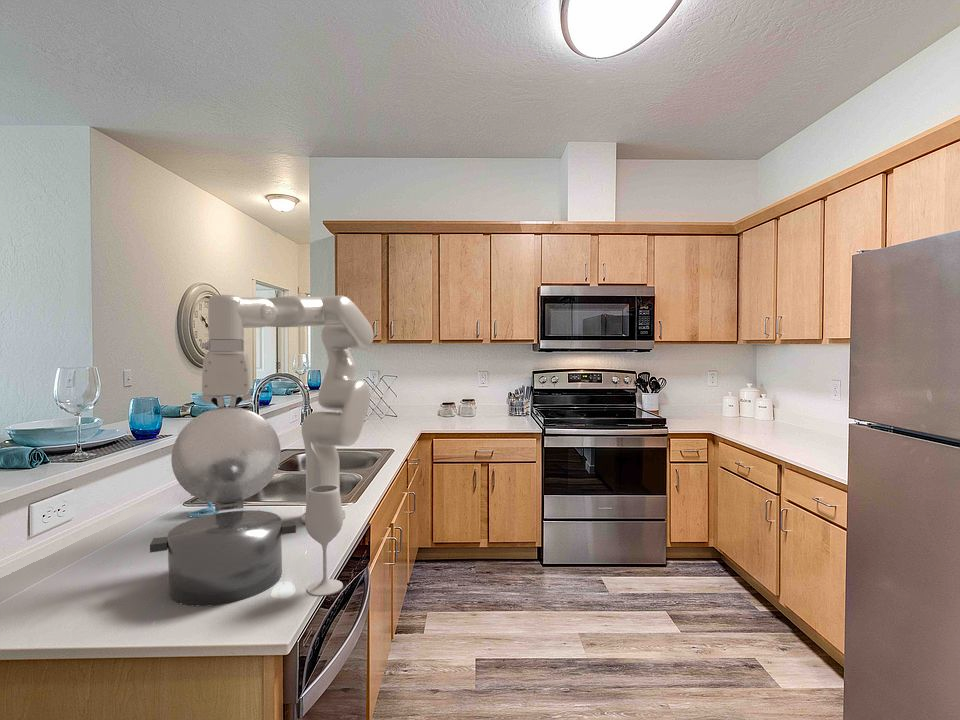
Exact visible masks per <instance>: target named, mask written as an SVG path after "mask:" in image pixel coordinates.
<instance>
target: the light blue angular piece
mask: <svg viewBox="0 0 960 720" xmlns="http://www.w3.org/2000/svg"><path fill="white" fill-rule="evenodd" d="M190 496H192V497H194V496H193V495H191V494H190ZM205 503H206V505H207V506H208V507H206V508H205V507H204V508H202V509H198V510H195V511H191V512H189V513H187V517H188V516H192V517H191V518H198V517H203V516H207V515H212V514H217V513H219V511H215V506H214V505H213V503H212V502H207V501H205ZM212 509H213V511H212ZM209 510H210V511H212V512H211V513H208V514H207V513H206V512H205V511H207V512H210V511H209ZM201 512H203V513H201ZM198 513H200V514H198Z"/></svg>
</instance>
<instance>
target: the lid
mask: <svg viewBox="0 0 960 720" xmlns="http://www.w3.org/2000/svg"><path fill="white" fill-rule="evenodd" d="M281 452H282V451H281V443H280V440H279V436H278V433H277V432H276V430H275V429H274V427H273V426H272V425H271V423H270V422H269V421H268V420H267V419H266V418H265V417H263V416H261V415H260V414H258V413H256V412H254V411H252V410H249V409H245V408H242V407H237V406H236V407H228V406H226V407H224V408H218V407H217V408H213V409H211V410H208V411H205V412H202V413H200V414H198V415H197V416H195V417H194V418H193V419H191V420H190V421H189V422H187V424H186V425H185V426H184V427H183V428H182V429H181V431H180V432H179V433H178V435H177V437H176V439H175V441H174V444H173V447H172V452H171V459H170V460H171V467H172V473H173V475H174V476H175V477H174V478H175V479H176V480H177V482H178V484H179V485H180V486H181V487H182V488H183V489H184V490H185V491H186V492H187V493H189V494H190V496H191V495H193V496H192V497H195V498H196V499H200V500H201V501H205V502H206V501H207V502H211V503H212V504H214V509H215V511H218V512H221V511H230V510H238V509H244V500H246V499H250V498H252V497H253V496H254V495H256V494H258V493H259V492H261V491H262V490H264V488H265V487H267V485H268V484H270V483H271V481H272V480H273V478H274V476H275V475H276V474H277V473H276V472H278V469H279V466H280V461H281V455H282V454H281Z"/></svg>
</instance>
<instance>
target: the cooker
mask: <svg viewBox="0 0 960 720" xmlns="http://www.w3.org/2000/svg"><path fill="white" fill-rule="evenodd" d="M296 533H297V523H296V520H295V519H293V520H287V521H285V520H283V521H282V518H281V517H280V515H278V514H276V513H274V512H269V511H264V510H233V511H226V512H217V513H216V514H212V515H207V516H203V517H199V518H198V517H195V518H193V519H190V520H188V521H185V522H183V523H180V524H179V525H176V526H175V527H173V528H171V530H169V532H168V534H167V536H161V537H153V538H152V540H151V542H150V543H149V553H150V554H151V553H157V552H164V551H165V552H166V551H167V559H168V560H167V563H168V572H167V573H168V596H169V598H170V597H171V598H170V599H171V600H172V601H173V600H174V601H173V602H175V601H176V602H175V603H177V602H178V604H180V603H182V604H181V605H184V604H186V605H185V606H191V605H193V606H194V607H197V606H196V605H202V606H201V607H204V606H203V605H211V606H219V604H220V605H225V603H226V604H229V603H235V602H239V601H242V600H245V599H249V598H251V597H254V596H257V595H259V594H261V593H263V592H265V591H267V590H269V589H270V588H272V587H273V586H275V585H277V583H278V582H279V581H280V579H281V578H282V576H281V575H282V574H283V560H282V559H283V558H282V557H283V555H282V553H283V551H282V549H283V548H282V535H288V534H289V535H290V534H296Z"/></svg>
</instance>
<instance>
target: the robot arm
mask: <svg viewBox="0 0 960 720" xmlns="http://www.w3.org/2000/svg"><path fill="white" fill-rule="evenodd" d="M207 302H208V303H207V309H208V312H207V313H208V314H207V317H208V319H207V325H208V326H207V327H208V328H207V329H208V334H207V335H208V340H207V341H206V342H201V349H205V350H207V351H208V353H204V355H203V357H204V358H203V361H202V362H203V363H202V372H201V373H202V375H201V376H202V377H201V390H202V391H201V392H202V394H201V398H200V399H201V400H200V401H202V402H207V403H212V404H213V405H215V406H216V407H217V408H224V407H236V408H237V406H238V405H239V404H240V403H241V402H245V401H248V400H251V399H252V393H251V372H250V371H251V370H250V360H249V356H248V353H245V338H244V337H245V335H244V334H245V333H244V332H245V331H244V330H245V329H248V328H251V329H255V328H257V329H258V328H259V329H260V328H266V327H268V328H269V327H271V328H272V327H273V328H299V327H301V328H302V327H315V326H318V327H319V326H323V327H322V329H321V334H320V336H321V340H322V343H323V346H324V348H325V351H326V353H327V358H328V363H327V367H326V371H325V374H324V377H323V380H322V383H321V386H320V389H319V392H318V395H317V401H318V404H319V406H321V408H323V409H326V410H331V411H314V412H311V413H309V414H307V415H306V416H305V418H304V419H303V421H302V424H301V435H302V439H303V445H304V451H305V486H306V487H305V489H306V491H305V494H306V496H305V497H306V502H305V503H306V505H307V498H308V493H309V489H310V488H312V487H315V486H320V485H335V486H338V488H339V492H340V493H341V491H340V489H341V487H340V486H341V485H340V483H341V482H340V478H341V477H340V456H339V452H338V449H337V448H336V446H337V447H339V446H340V447H350V446H353V445H354V444H355V443H356V442H357V441H358V440H359V437H360V434H361V433H362V429H363V425H364V422H365V419H366V417H367V414H368V410H369V405H370V401H371V392H370V391H371V390H370V388H369V385H368V384H367V383H366V381H363V380H362V379H356V378H355V373H356V371H357V370H356V369H357V366H356V365H357V364H356V362H355V359H354V358H353V356H352V353H351V352H350V350H363V349H367V348H369V347H370V346H371V345H372V344H373V341H374V335H375V334H374V330H373V327H372V325H371V323H370V321H368V319H367V318H366V316H365V315H364V314H363V313H362V311H361V310H360V308H358V306H357V305H356V304H355V302H354V301H352V300H351V299H350V298H349V297H347V296H346V295H326V296H323V295H321V296H318V295H317V296H311V295H310V296H307V295H305V296H303V295H288V296H287V295H285V296H277V297H269V298H264V297H262V296H253V297H244V296H243V297H240V296H238V295H233V294H213V295H211V296H210V297H208V300H207ZM224 397H230V402H229V404H228V406H227V405H226V404H225V400H224V399H225V398H224ZM334 411H342V412H334ZM342 511H343V519H344V518H346V512H345V510H344V509H342ZM305 513H306V512H304V513H302V514H301V516H300V520H301V522H302V523H303V524H305Z"/></svg>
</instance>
